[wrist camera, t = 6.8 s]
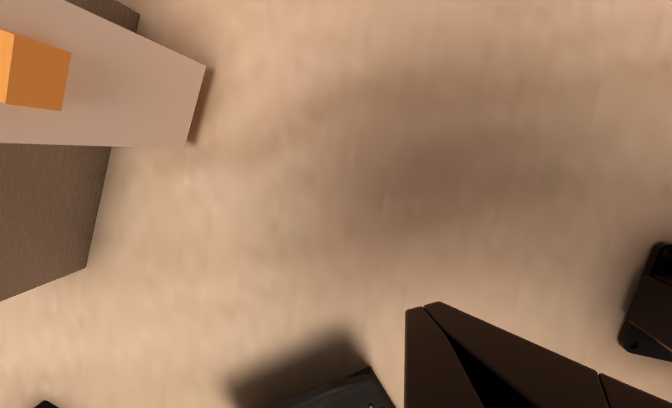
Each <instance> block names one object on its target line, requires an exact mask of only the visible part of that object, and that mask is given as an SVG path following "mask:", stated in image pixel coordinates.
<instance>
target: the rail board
mask: <svg viewBox="0 0 672 408" xmlns="http://www.w3.org/2000/svg"><path fill="white" fill-rule="evenodd" d="M65 1H67V2H69V3H71V4H73V5H76V6H78V7H80V8H82V9H84V10H86V11H89V12H91V13H93V14H95V15H97V16H99V17H102V18H104V19H106V20H108V21H110V22H112V23H115V24H117V25H119V26H121V27H123V28H125V29H128V30H130V31H132V32H134V33H135V32H136V27H137V23H138V18H139V14H138V13H137V12H135V11H133V10H131V9H129V8H128V7H126V6H124V5H122V4H120V3H119V2H117V1H115V0H65ZM110 149H111V146H82V145H50V144H19V143H0V301H3V300H5V299H8V298H10V297H13V296H15V295H18V294H20V293H23V292H26V291H28V290H31V289H33V288H36V287H38V286H41V285H43V284H46V283H48V282H51V281H53V280H56V279H58V278H61V277H63V276H66V275H68V274H71V273H73V272H76V271H79V270H81V269H84V268H85V265H86V261H87V256H88V251H89V247H90V242H91V237H92V233H93V228H94V223H95V219H96V214H97V209H98V205H99V200H100V195H101V191H102V186H103V181H104V177H105V172H106V167H107V163H108V158H109V153H110Z"/></svg>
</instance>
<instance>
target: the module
mask: <svg viewBox="0 0 672 408" xmlns="http://www.w3.org/2000/svg"><path fill="white" fill-rule="evenodd" d="M205 69H206V66H205V65H203V64H201V63H199V62H197V61H195V60H192V59H190V58H188V57H186V56H184V55H182V54H179V53H177V52H175V51H173V50H171V49H169V48H166V47H164V46H162V45H160V44H158V43H156V42H153V41H151V40H149V39H147V38H145V37H143V36H140V35H138V34H136V33H134V32H132V31H130V30H128V29H125V28H123V27H121V26H119V25H117V24H115V23H112V22H110V21H108V20H106V19H104V18H102V17H99V16H97V15H95V14H93V13H91V12H89V11H86V10H84V9H82V8H80V7H78V6H76V5H73V4H71V3H69V2H67V1H65V0H0V143H19V144H50V145H82V146H114V147H146V148H177V149H184V148H185V144H186V140H187V136H188V133H189V129H190V125H191V121H192V118H193V114H194V110H195V106H196V103H197V99H198V95H199V91H200V88H201V84H202V80H203V76H204V73H205Z"/></svg>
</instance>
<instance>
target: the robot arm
mask: <svg viewBox="0 0 672 408" xmlns="http://www.w3.org/2000/svg"><path fill="white" fill-rule="evenodd" d="M666 249H668V252H667V253H666V254H665V255H663V252H664V251H665V250H666ZM632 341H633V343H632V344H630V345H629V343H630V342H632ZM619 344H620V346H621V347H622V348H624V349H625V350H626V351H627V352H630V353H633V354H638V355H642V356H647V357H652V358H656V359H661V360H665V361H670V362H672V243H667V242H661V243H658V244H656V245H655V246H654V247H653V249H652V251H651V254H650V256H649V259H648V262H647V265H646V267H645V270H644V273H643V275H642V278H641V281H640V283H639V286H638V289H637V292H636V294H635V297H634V300H633V302H632V305H631V308H630V310H629V313H628V316H627V319H626V321H625V324H624V327H623V329H622V332H621V335H620V337H619ZM404 408H672V403H670V402H668V401H665V400H663V399H661V398H658V397H656V396H653V395H651V394H649V393H646V392H644V391H642V390H639V389H637V388H635V387H632V386H630V385H628V384H625V383H623V382H621V381H618V380H616V379H614V378H612V377H609V376H607V375H605V374H603V373H600V374H599V375H598V373H597V372H596V371H595V370H593V369H591V368H589V367H587V366H584V365H582V364H580V363H578V362H575V361H573V360H571V359H568V358H566V357H564V356H562V355H559V354H557V353H555V352H553V351H550V350H548V349H546V348H544V347H541V346H539V345H537V344H535V343H532V342H530V341H528V340H526V339H523V338H521V337H519V336H517V335H514V334H512V333H510V332H508V331H505V330H503V329H501V328H499V327H496V326H494V325H492V324H490V323H487V322H485V321H483V320H480V319H478V318H476V317H474V316H471V315H469V314H467V313H465V312H462V311H460V310H458V309H456V308H453V307H451V306H449V305H447V304H444V303H442V302H434V303H430V304H427V305H424V306H423V307H416V308H412V309H408V310H406V312H405V367H404Z"/></svg>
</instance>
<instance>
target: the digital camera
mask: <svg viewBox="0 0 672 408" xmlns="http://www.w3.org/2000/svg"><path fill="white" fill-rule="evenodd" d="M34 408H58V407H56V406H55V405H53V404H51V403H50V402H48V401H43V402H41V403H40V404H39V405H37V406H36V407H34Z"/></svg>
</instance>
